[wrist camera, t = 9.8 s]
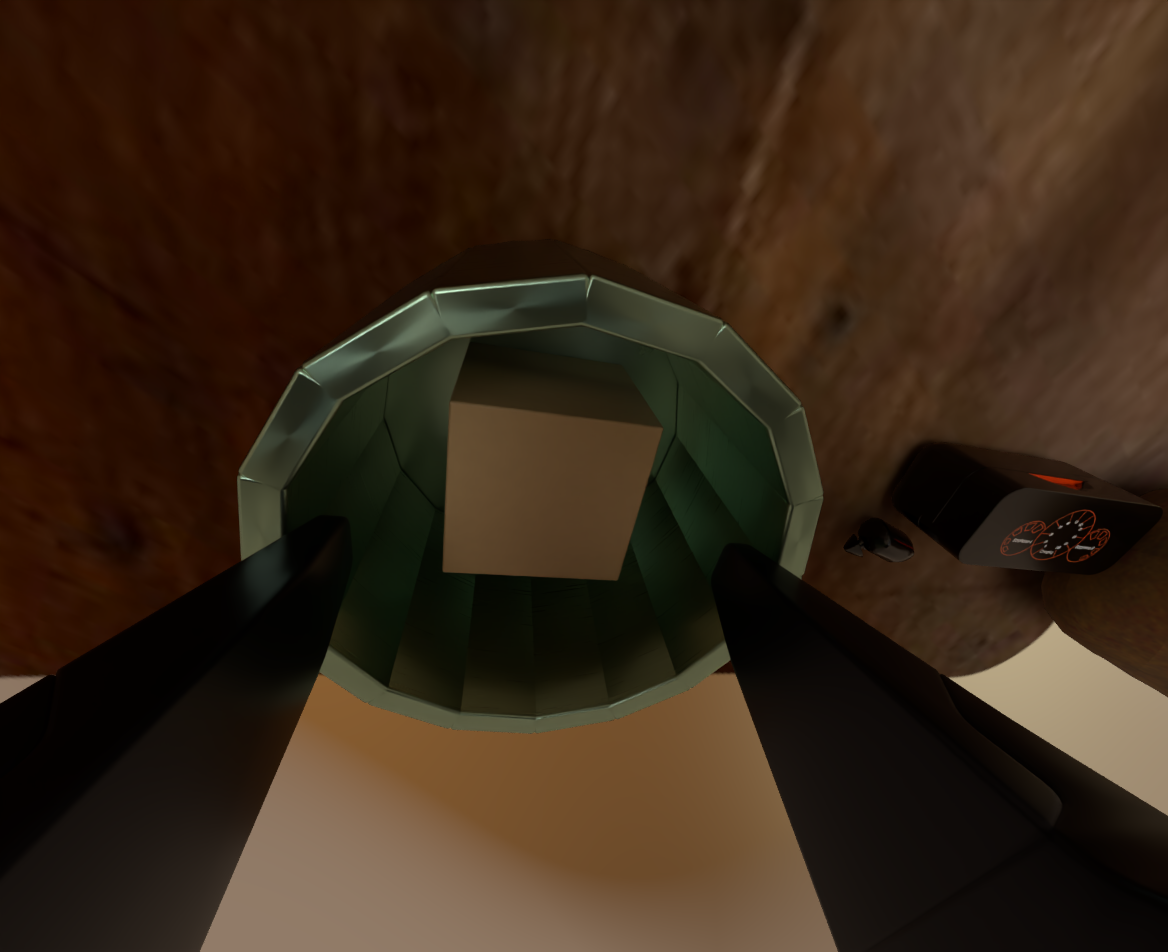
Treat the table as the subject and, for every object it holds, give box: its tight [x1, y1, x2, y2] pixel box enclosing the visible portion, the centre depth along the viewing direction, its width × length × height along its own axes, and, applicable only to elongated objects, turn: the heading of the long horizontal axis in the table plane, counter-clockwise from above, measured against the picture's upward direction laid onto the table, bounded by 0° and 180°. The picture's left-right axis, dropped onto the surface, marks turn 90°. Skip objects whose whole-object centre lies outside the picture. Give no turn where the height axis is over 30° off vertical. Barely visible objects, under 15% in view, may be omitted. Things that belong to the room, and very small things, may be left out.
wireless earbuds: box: [844, 442, 1163, 575], centre depth 15 cm, size 5×7×3 cm, turn 78°
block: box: [442, 342, 664, 581], centre depth 11 cm, size 4×4×4 cm
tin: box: [237, 239, 824, 734], centre depth 10 cm, size 9×9×6 cm
